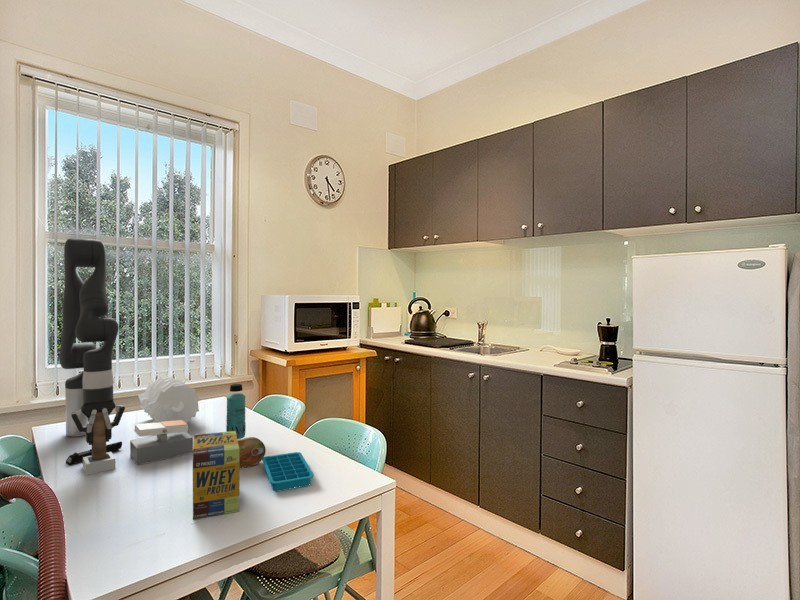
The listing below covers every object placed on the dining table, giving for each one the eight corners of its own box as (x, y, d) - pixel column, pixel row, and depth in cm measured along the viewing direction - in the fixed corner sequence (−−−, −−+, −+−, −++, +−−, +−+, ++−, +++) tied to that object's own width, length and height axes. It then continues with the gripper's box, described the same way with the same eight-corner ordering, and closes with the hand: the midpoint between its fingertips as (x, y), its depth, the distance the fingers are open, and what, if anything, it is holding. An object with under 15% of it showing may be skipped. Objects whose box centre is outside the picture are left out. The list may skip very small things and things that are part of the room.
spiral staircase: (172, 423, 190) (191, 435, 171) (129, 412, 180) (143, 423, 161) (191, 382, 196) (211, 389, 177) (150, 369, 185) (166, 375, 166)
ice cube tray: (270, 495, 118) (270, 483, 118) (261, 466, 136) (261, 457, 136) (314, 487, 122) (314, 476, 122) (300, 461, 141) (300, 451, 141)
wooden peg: (90, 457, 134) (90, 411, 133) (105, 454, 136) (104, 409, 136) (92, 461, 131) (92, 414, 130) (107, 458, 134) (106, 411, 133)
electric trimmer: (124, 451, 148) (124, 441, 148) (70, 466, 135) (70, 455, 135) (118, 449, 150) (118, 439, 150) (65, 463, 137) (65, 453, 137)
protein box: (192, 520, 104) (192, 454, 104) (194, 492, 118) (193, 434, 118) (240, 511, 108) (240, 448, 108) (236, 485, 122) (236, 429, 122)
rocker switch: (134, 430, 143) (134, 423, 143) (181, 426, 152) (181, 419, 152) (139, 436, 137) (140, 429, 137) (188, 431, 146) (188, 424, 146)
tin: (212, 473, 130) (212, 444, 130) (211, 469, 133) (211, 441, 133) (265, 464, 137) (265, 437, 137) (263, 460, 140) (263, 434, 140)
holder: (82, 467, 134) (82, 457, 134) (111, 461, 139) (111, 451, 139) (86, 474, 129) (86, 464, 128) (115, 468, 133) (115, 458, 133)
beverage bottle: (221, 442, 156) (221, 385, 155) (235, 436, 162) (235, 381, 162) (236, 445, 153) (236, 387, 153) (250, 439, 160) (249, 383, 159)
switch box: (130, 455, 143) (130, 434, 143) (183, 444, 154) (183, 424, 154) (137, 465, 136) (136, 442, 136) (192, 452, 146) (192, 431, 146)
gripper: (123, 380, 140) (123, 434, 141) (67, 386, 131) (68, 444, 132) (128, 384, 135) (128, 440, 135) (70, 390, 125) (70, 451, 126)
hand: (98, 442), depth 133 cm, fingers closed on wooden peg, 3 cm apart
